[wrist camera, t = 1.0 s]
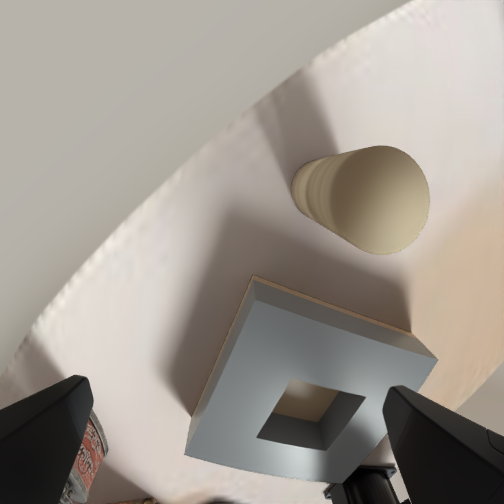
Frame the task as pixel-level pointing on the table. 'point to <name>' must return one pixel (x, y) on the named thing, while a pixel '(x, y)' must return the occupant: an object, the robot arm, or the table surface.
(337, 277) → the table surface
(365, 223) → the wooden pin
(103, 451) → the lighter
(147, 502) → the book
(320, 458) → the grey square-holed block
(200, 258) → the table surface
